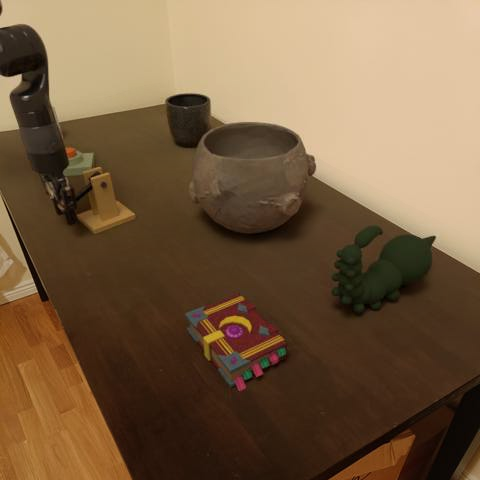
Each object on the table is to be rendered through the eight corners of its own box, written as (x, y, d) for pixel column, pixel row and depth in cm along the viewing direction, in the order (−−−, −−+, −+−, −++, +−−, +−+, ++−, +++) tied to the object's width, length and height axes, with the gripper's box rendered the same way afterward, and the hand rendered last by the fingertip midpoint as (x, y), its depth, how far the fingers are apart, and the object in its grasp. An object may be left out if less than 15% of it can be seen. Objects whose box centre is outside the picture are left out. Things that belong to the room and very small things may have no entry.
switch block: (49, 177, 121) (45, 163, 119) (54, 162, 128) (50, 149, 126) (93, 174, 123) (89, 160, 120) (95, 159, 130) (92, 146, 127)
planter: (188, 131, 147) (185, 90, 138) (221, 140, 141) (219, 98, 132) (160, 144, 138) (155, 101, 129) (193, 154, 132) (190, 110, 124)
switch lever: (69, 218, 96) (63, 211, 94) (60, 210, 99) (53, 202, 97) (110, 184, 98) (104, 176, 96) (100, 176, 101) (94, 168, 99)
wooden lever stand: (94, 234, 100) (82, 187, 92) (78, 219, 105) (64, 173, 97) (136, 218, 105) (127, 172, 97) (118, 204, 110) (108, 159, 102)
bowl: (172, 242, 97) (160, 156, 84) (219, 187, 117) (216, 109, 103) (287, 267, 91) (295, 177, 77) (317, 204, 110) (328, 123, 96)
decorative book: (240, 309, 81) (240, 289, 78) (291, 364, 71) (294, 344, 68) (186, 332, 77) (184, 311, 73) (233, 394, 67) (233, 373, 63)
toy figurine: (352, 337, 78) (444, 281, 86) (366, 255, 64) (474, 197, 73) (318, 308, 84) (407, 258, 92) (324, 227, 70) (429, 176, 78)
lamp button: (62, 159, 122) (60, 153, 120) (64, 154, 124) (62, 147, 123) (75, 158, 122) (74, 152, 121) (76, 153, 125) (75, 147, 123)
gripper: (12, 138, 89) (39, 212, 100) (39, 161, 81) (65, 237, 93) (48, 130, 92) (69, 202, 104) (77, 150, 84) (96, 226, 96)
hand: (67, 218), depth 98 cm, fingers closed on switch lever, 5 cm apart
